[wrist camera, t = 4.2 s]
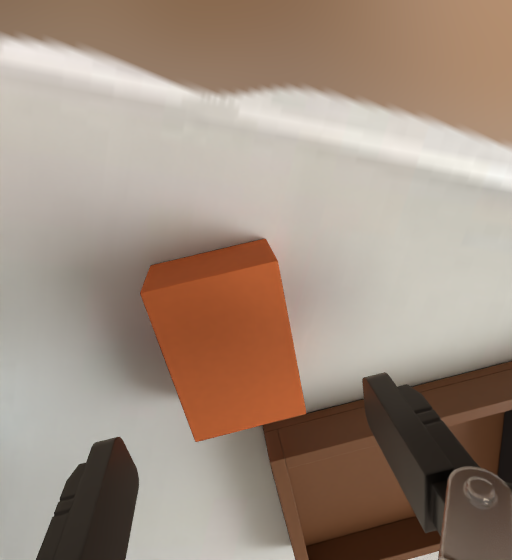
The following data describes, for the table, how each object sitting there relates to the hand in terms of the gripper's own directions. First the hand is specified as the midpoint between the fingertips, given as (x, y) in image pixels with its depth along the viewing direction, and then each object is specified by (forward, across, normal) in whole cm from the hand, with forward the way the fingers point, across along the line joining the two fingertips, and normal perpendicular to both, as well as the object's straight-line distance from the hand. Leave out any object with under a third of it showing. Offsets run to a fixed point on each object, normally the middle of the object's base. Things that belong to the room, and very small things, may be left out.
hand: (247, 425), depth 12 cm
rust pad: (+7, 0, 0) cm, 7 cm away
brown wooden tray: (+7, -11, +13) cm, 18 cm away
